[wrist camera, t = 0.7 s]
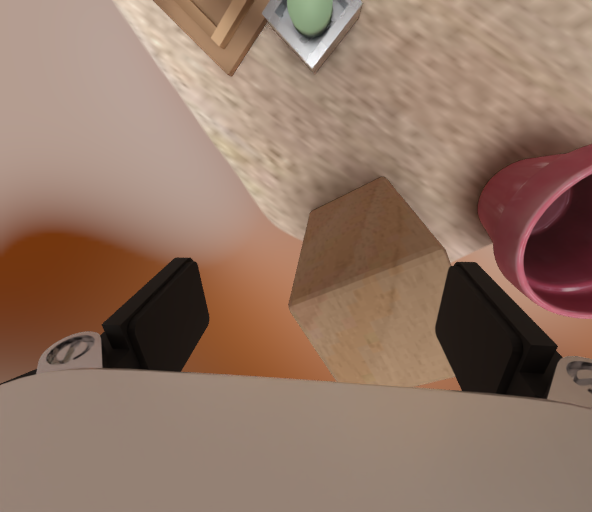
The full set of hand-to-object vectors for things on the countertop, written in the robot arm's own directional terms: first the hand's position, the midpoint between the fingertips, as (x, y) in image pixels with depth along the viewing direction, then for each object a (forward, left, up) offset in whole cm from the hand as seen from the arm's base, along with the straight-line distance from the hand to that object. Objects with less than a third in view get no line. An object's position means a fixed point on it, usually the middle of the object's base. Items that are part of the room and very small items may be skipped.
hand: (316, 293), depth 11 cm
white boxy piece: (-9, -11, -25) cm, 29 cm away
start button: (-9, -11, -22) cm, 26 cm away
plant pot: (-13, +18, -26) cm, 34 cm away
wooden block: (+2, +8, -26) cm, 27 cm away
